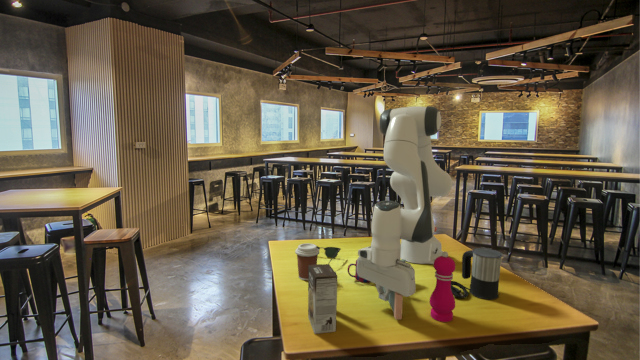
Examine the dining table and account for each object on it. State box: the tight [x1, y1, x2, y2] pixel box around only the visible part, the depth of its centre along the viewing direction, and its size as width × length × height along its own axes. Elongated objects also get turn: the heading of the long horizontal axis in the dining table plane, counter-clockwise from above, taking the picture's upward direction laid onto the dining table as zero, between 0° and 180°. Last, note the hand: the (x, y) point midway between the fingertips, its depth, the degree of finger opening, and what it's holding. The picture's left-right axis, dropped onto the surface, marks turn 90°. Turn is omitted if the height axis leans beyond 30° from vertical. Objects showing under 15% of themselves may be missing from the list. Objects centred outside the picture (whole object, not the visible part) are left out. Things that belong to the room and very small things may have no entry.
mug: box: [347, 259, 372, 284], centre depth 132 cm, size 7×10×7 cm
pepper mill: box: [429, 250, 456, 323], centre depth 105 cm, size 7×7×20 cm
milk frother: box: [451, 247, 503, 300], centre depth 120 cm, size 14×16×15 cm
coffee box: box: [307, 263, 338, 335], centre depth 100 cm, size 9×6×16 cm
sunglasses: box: [316, 245, 342, 265], centre depth 149 cm, size 16×17×5 cm
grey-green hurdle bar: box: [383, 287, 404, 320], centre depth 112 cm, size 21×2×7 cm, turn 1°
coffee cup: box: [294, 243, 320, 281], centre depth 134 cm, size 9×9×12 cm
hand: (383, 299), depth 109 cm, fingers closed
